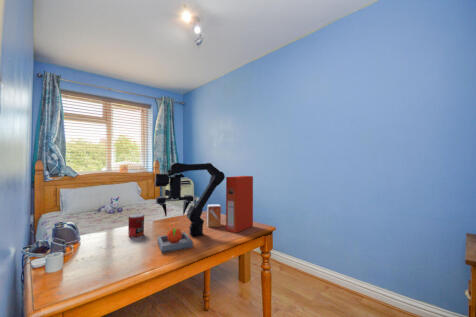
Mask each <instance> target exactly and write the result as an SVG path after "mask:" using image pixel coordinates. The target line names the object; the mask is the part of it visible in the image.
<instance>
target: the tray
mask: <svg viewBox="0 0 476 317" xmlns="http://www.w3.org/2000/svg"><path fill="white" fill-rule="evenodd" d="M181 233H182V238H181V240H180V241H179V242H178V243H170V242H169V241H168V239H167V234H165V235H159V236H157V238H156V239H157V245H158V247H159V251H160V252H161V254H166V253H170V252H176V251H180V250H181V251H182V250H187V249H192V248H193V247H194V246H193V245H194V244H193V242H194V241H193V239H191V237H190V236H189V235H188V234H187V233H186V232H181Z"/></svg>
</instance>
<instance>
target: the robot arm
mask: <svg viewBox="0 0 476 317" xmlns="http://www.w3.org/2000/svg"><path fill="white" fill-rule="evenodd" d="M190 171H193V172H194V171H207V173H208V174H209V175H210V179H209V183H208V184H207V186H206V188H204V189H205V190H203V192H202V194H201V196H200V197H199V198H198V200H197V202H196V204H194V205H190V204H192V202H194V196H193V195H191V194H185V195H184V196H182V178H185V177H186V176H185V175H184V174H183V173H185V172H190ZM225 179H226V175H225V173H224V172H223V171H220V170H219V168H217V167H216V166H214V165H213V164H212V163H211V162H206V163H189V164H187V163H181V162H171V163H170V165H169V168H168V170H167V171H166V172H165V173H155V177H154V187H155V188H159V187H161V188H162V187H163V188H164V187H167V186H169V189H165V190H164V196H157V197H156V198H155V203H156V204H157V205H159V206H161V207H162V209H163V213H164V216H165V217H167V215H168V214H167V213H168V211H167V202H176V201H177V202H178V201H182V202H183V208H182V215H185V213H186V212H187V213H186V218H187V219H188V220H189V221H190V226H189V235H190V236H191V238H192V237H194V238H195V237H200V236H204V233H203V229H204V228H203V227H204V223H205V220H204V219H203V218H201V217H202V213H203V209H204V207H205V206H206V204H207V203H208V201H209V199H210V197H211V196H212V195H213V193H214V191H215V190H216V188H217V187H218V186H219V185H220V184H221V183H222V182H223V181H224V180H225ZM189 205H190V207H189ZM188 207H189V208H188ZM187 208H188V210H187Z"/></svg>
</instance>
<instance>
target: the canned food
mask: <svg viewBox="0 0 476 317" xmlns="http://www.w3.org/2000/svg"><path fill="white" fill-rule="evenodd" d="M127 225H128V228H127V229H128V232H127V234H128V236H129V237H130V238H139V237H142V236H143V235H144V233H145V213H137V212H136V213H131V214H129V215H128V224H127Z"/></svg>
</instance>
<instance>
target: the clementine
mask: <svg viewBox="0 0 476 317" xmlns="http://www.w3.org/2000/svg"><path fill="white" fill-rule="evenodd" d="M182 233H183V232H182V231H181V229H179V228H177V227H176V228H172V229H170V230H169V231H168V232H167V234H166V235H167V239H168V241H169V242H170V243H178V242H179V241H180V240H181V238H182Z"/></svg>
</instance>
